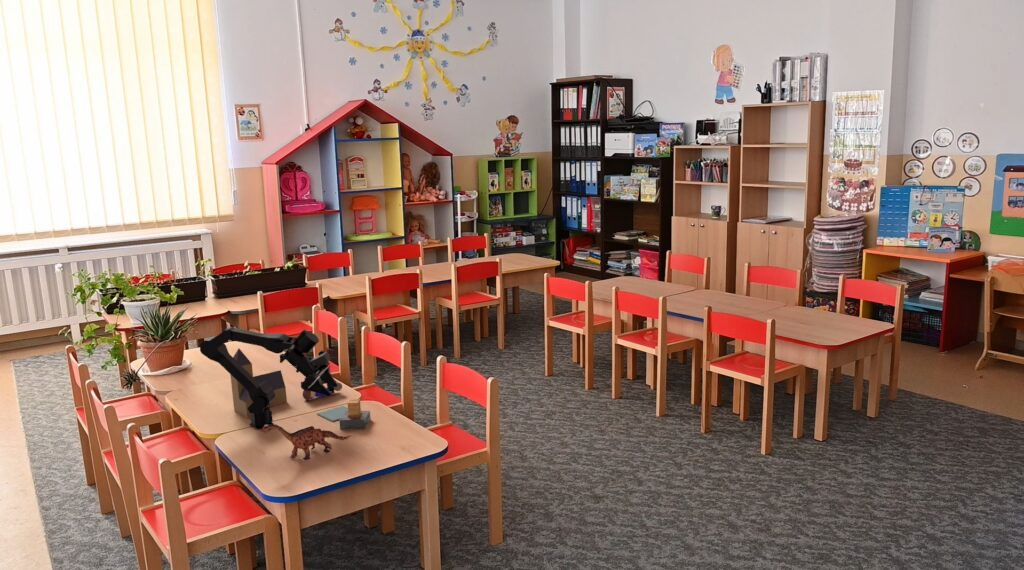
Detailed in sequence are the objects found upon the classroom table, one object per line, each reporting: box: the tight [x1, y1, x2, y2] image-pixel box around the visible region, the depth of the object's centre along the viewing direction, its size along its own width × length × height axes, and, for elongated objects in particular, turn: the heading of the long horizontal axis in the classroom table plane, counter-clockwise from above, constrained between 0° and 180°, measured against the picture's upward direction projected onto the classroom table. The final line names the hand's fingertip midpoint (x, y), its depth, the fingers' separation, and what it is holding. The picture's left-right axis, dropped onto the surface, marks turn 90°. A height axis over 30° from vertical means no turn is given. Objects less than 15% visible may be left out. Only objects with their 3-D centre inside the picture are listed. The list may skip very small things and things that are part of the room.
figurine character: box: [300, 379, 343, 401], centre depth 317 cm, size 7×8×15 cm
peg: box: [347, 398, 362, 418], centre depth 286 cm, size 4×4×9 cm
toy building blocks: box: [229, 348, 288, 419], centre depth 304 cm, size 12×19×25 cm, turn 131°
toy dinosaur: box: [260, 423, 352, 462], centre depth 259 cm, size 8×30×15 cm, turn 134°
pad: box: [316, 405, 348, 423], centre depth 298 cm, size 11×11×1 cm
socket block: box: [338, 410, 372, 430], centre depth 287 cm, size 9×9×4 cm
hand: (333, 390), depth 285 cm, fingers open, 9 cm apart
